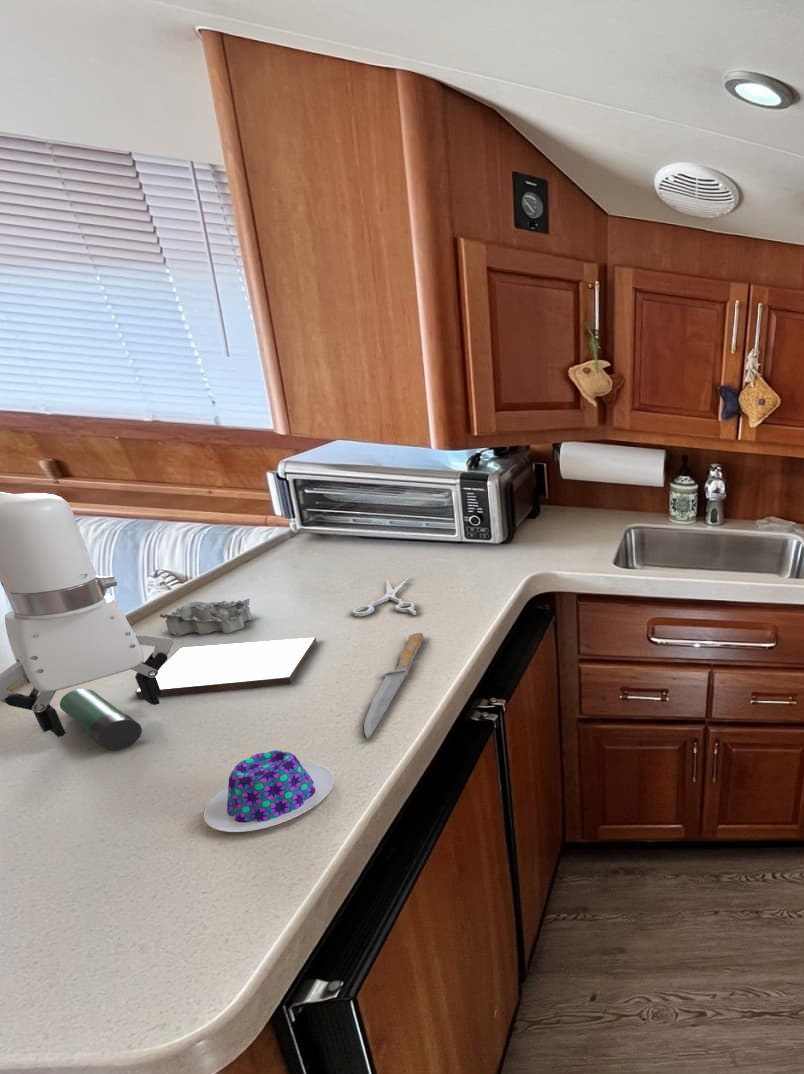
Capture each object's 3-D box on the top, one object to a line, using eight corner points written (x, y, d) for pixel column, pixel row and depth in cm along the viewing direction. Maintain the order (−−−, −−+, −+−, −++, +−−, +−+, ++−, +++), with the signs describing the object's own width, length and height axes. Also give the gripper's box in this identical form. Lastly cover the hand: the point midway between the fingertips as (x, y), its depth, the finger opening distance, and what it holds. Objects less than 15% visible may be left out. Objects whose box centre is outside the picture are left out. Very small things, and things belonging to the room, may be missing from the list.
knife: (403, 634, 112) (422, 632, 113) (404, 639, 112) (423, 638, 113) (350, 737, 85) (376, 734, 86) (352, 744, 86) (377, 741, 87)
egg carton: (162, 637, 107) (154, 615, 105) (187, 618, 113) (180, 597, 112) (238, 633, 110) (232, 612, 108) (258, 615, 116) (252, 595, 115)
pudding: (317, 755, 82) (308, 721, 80) (350, 800, 76) (341, 764, 74) (194, 799, 74) (181, 763, 72) (219, 854, 67) (205, 815, 65)
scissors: (349, 616, 117) (368, 577, 134) (350, 620, 118) (369, 581, 134) (415, 611, 121) (426, 574, 138) (416, 615, 122) (426, 577, 138)
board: (137, 699, 91) (135, 691, 90) (183, 654, 102) (181, 647, 102) (291, 684, 97) (289, 677, 97) (317, 643, 109) (315, 637, 108)
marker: (69, 717, 86) (44, 698, 84) (103, 697, 89) (80, 678, 86) (115, 755, 80) (90, 736, 78) (150, 732, 83) (126, 713, 80)
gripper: (139, 570, 86) (178, 681, 93) (-66, 611, 72) (-3, 738, 78) (164, 583, 83) (202, 697, 90) (-45, 628, 69) (19, 759, 75)
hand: (106, 716), depth 84 cm, fingers open, 8 cm apart
